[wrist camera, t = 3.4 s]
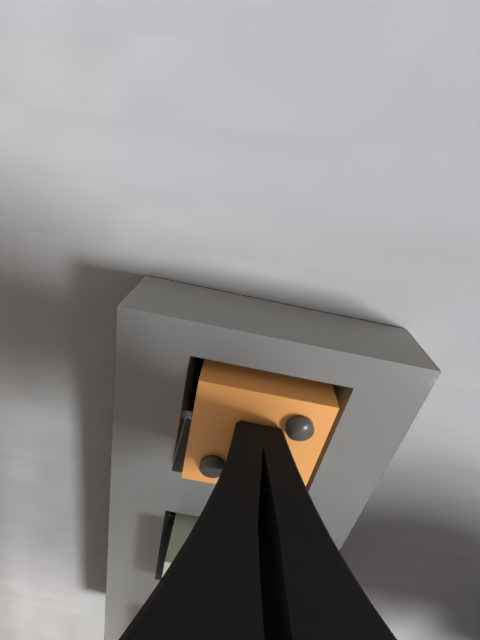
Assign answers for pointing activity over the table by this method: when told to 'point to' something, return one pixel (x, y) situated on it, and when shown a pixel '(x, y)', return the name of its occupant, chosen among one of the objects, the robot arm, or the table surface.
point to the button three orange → (256, 415)
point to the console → (254, 352)
